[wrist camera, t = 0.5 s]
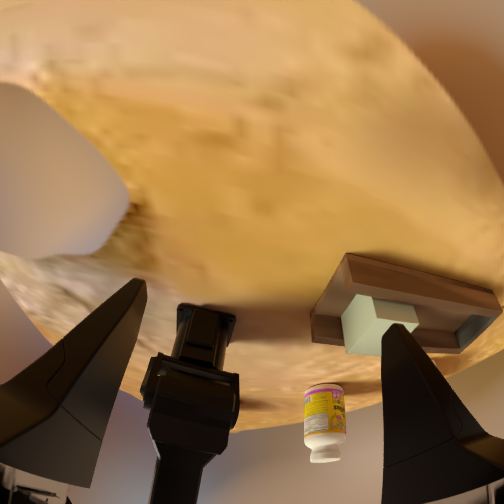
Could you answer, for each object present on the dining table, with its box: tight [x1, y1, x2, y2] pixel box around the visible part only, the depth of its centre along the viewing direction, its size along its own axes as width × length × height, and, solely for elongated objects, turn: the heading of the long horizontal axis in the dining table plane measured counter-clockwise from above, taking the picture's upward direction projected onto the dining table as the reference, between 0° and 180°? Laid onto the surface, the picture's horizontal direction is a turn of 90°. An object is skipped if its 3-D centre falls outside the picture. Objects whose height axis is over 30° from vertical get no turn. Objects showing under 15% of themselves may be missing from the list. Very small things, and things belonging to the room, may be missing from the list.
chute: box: [310, 253, 503, 354], centre depth 27 cm, size 9×22×4 cm, turn 78°
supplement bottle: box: [304, 384, 346, 463], centre depth 39 cm, size 7×7×13 cm
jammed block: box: [341, 294, 419, 356], centre depth 25 cm, size 6×5×4 cm
